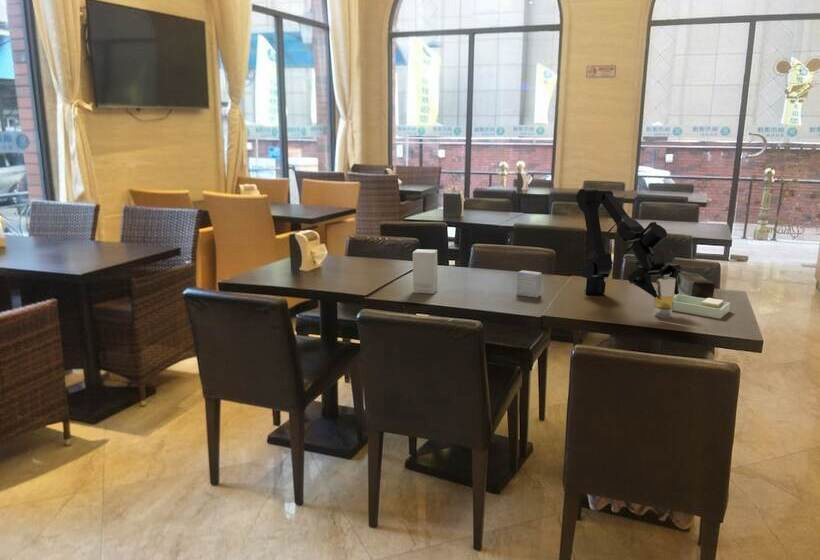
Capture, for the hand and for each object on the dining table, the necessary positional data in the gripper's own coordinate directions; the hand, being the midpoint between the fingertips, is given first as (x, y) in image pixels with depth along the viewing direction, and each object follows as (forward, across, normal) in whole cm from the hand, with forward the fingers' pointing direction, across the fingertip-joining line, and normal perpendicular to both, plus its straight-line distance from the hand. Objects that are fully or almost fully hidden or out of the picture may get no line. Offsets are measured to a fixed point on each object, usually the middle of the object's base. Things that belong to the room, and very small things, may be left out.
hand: (667, 295), depth 207 cm
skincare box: (-38, -57, +48) cm, 84 cm away
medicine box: (-24, -24, +35) cm, 49 cm away
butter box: (+7, +18, +3) cm, 20 cm away
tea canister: (+5, 0, +6) cm, 8 cm away
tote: (+4, +16, +6) cm, 18 cm away
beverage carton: (-9, +36, +20) cm, 43 cm away
